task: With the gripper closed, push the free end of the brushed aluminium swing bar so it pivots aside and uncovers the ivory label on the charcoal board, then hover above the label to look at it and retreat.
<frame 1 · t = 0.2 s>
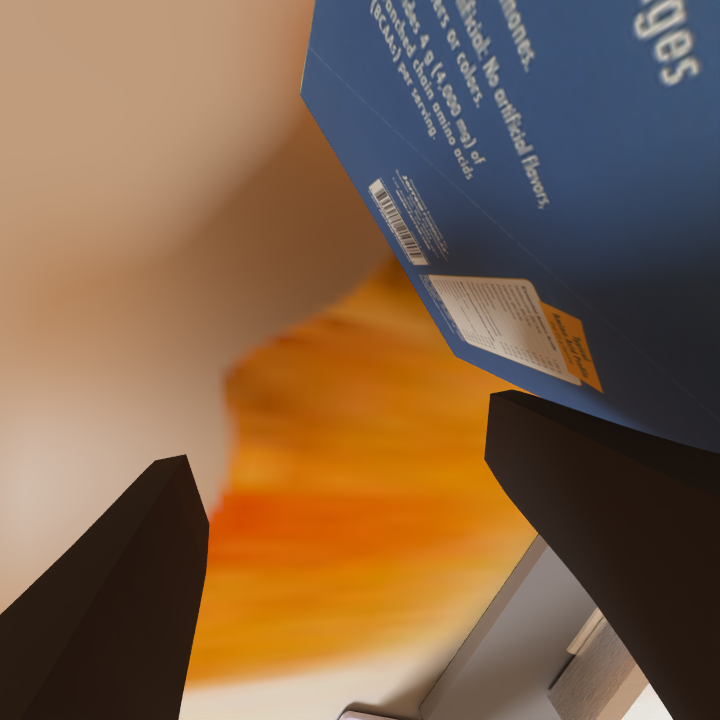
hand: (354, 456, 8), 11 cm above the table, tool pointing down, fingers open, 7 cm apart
label board: (585, 610, 29), on the table
protein box: (464, 188, 19), on the table
swing bar: (643, 623, 26), point 3 cm above the table, hinge at 0.0°
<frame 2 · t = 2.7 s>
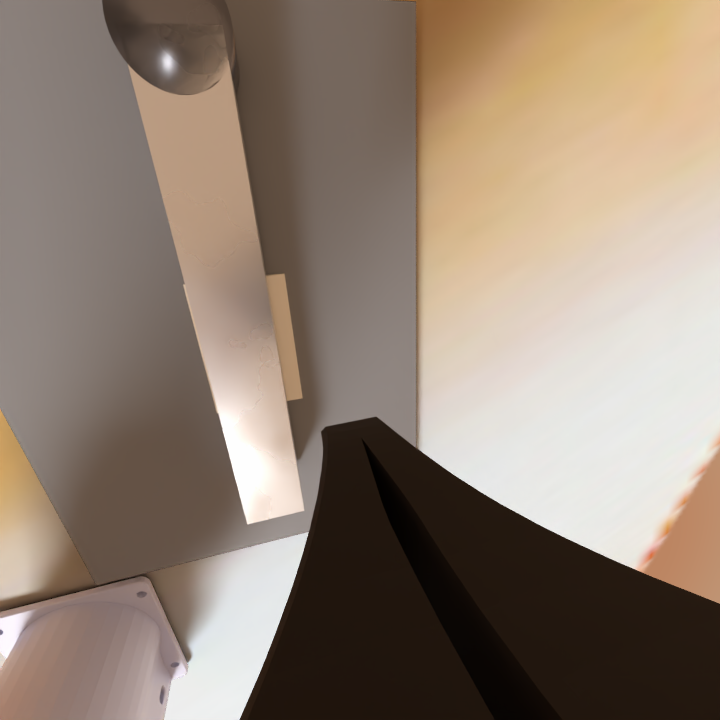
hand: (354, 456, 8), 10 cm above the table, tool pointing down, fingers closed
label board: (227, 341, 17), on the table
swing bar: (236, 306, 14), point 3 cm above the table, hinge at 0.0°
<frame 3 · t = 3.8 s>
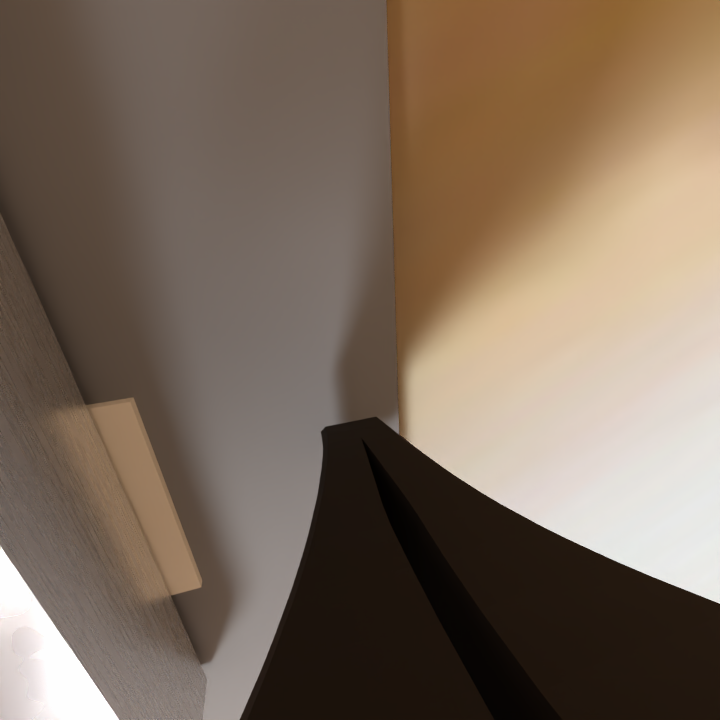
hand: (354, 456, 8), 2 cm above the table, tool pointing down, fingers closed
label board: (57, 500, 9), on the table
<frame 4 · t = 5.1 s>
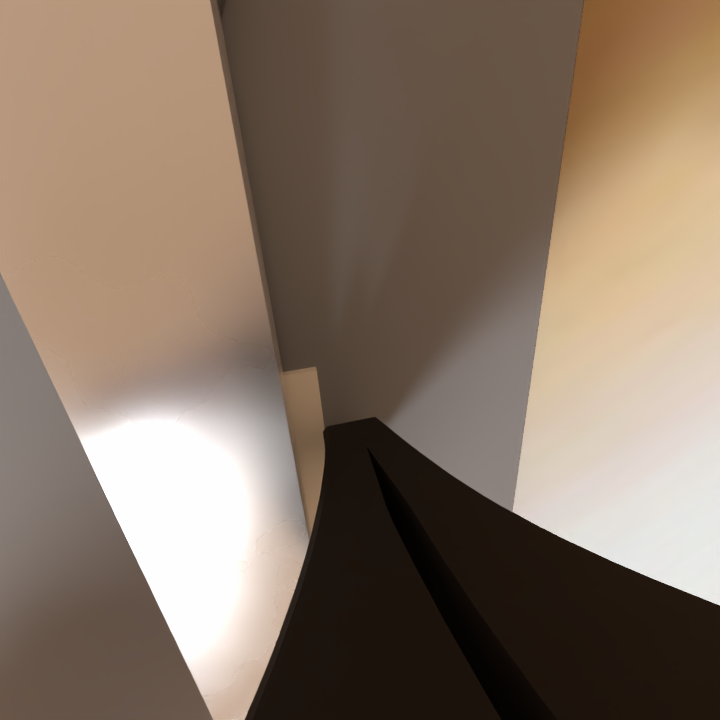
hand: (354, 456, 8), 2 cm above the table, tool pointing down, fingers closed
label board: (217, 467, 10), on the table
swing bar: (227, 458, 7), point 3 cm above the table, hinge at 0.0°, touching gripper
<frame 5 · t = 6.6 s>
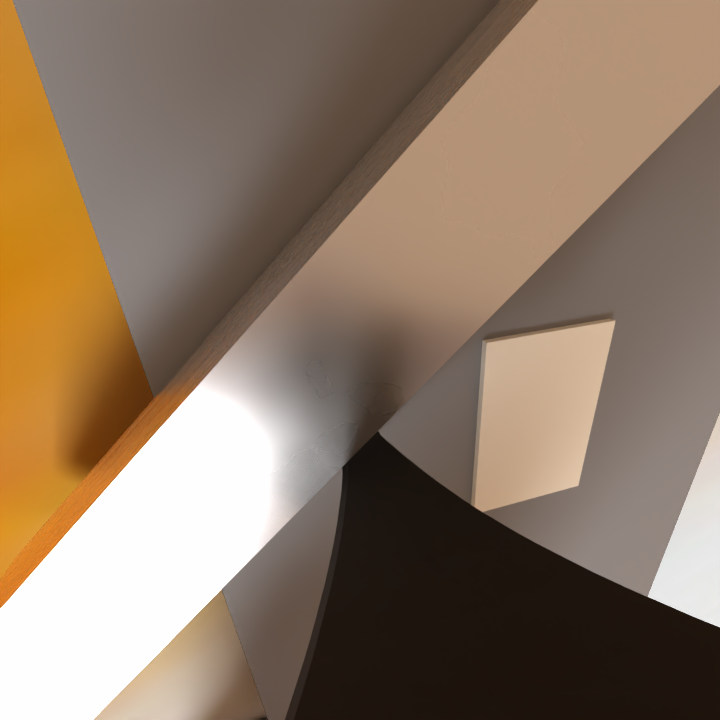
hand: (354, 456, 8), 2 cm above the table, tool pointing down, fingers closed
label board: (487, 411, 12), on the table
swing bar: (347, 305, 6), point 3 cm above the table, hinge at 49.2°, touching gripper
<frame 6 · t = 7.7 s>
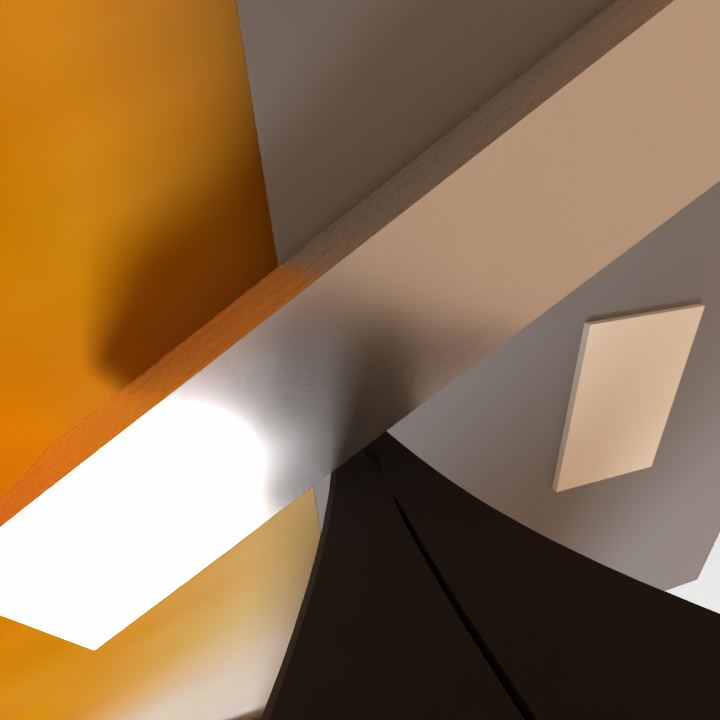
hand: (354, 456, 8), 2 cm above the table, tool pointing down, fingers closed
label board: (569, 393, 12), on the table
swing bar: (473, 224, 6), point 3 cm above the table, hinge at 59.0°, touching gripper
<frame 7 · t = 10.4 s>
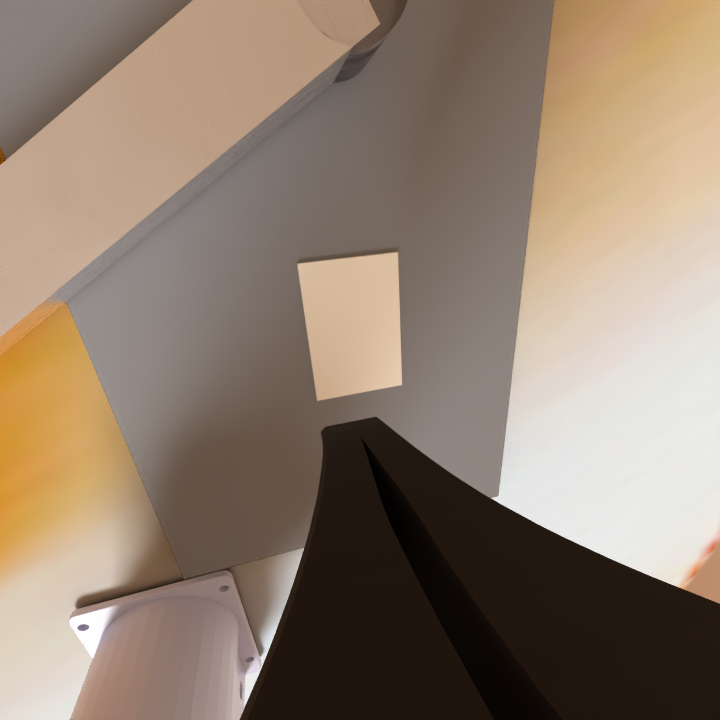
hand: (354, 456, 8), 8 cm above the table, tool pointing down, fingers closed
label board: (327, 325, 16), on the table
swing bar: (118, 180, 10), point 3 cm above the table, hinge at 59.1°
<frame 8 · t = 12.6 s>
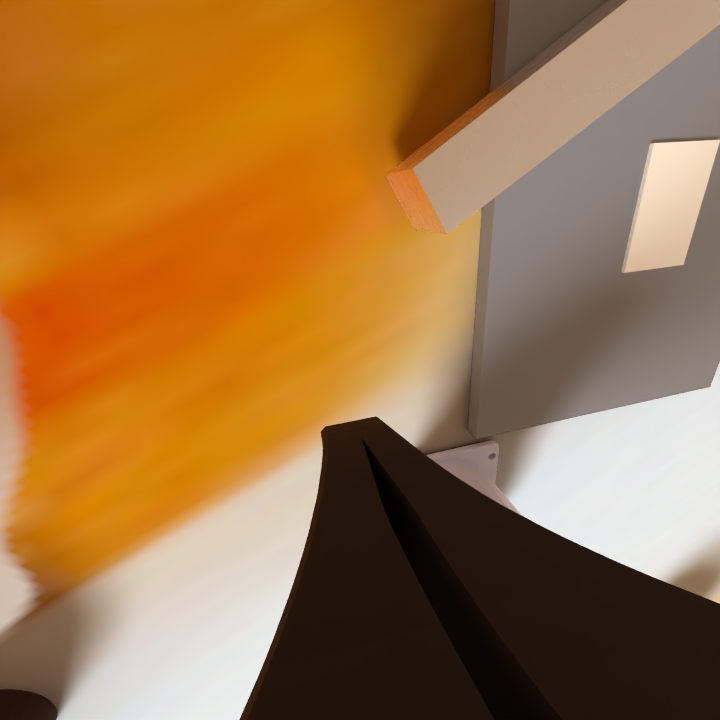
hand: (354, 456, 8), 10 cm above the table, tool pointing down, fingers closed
label board: (632, 210, 19), on the table
swing bar: (616, 46, 13), point 3 cm above the table, hinge at 59.1°
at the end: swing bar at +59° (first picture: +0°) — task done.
